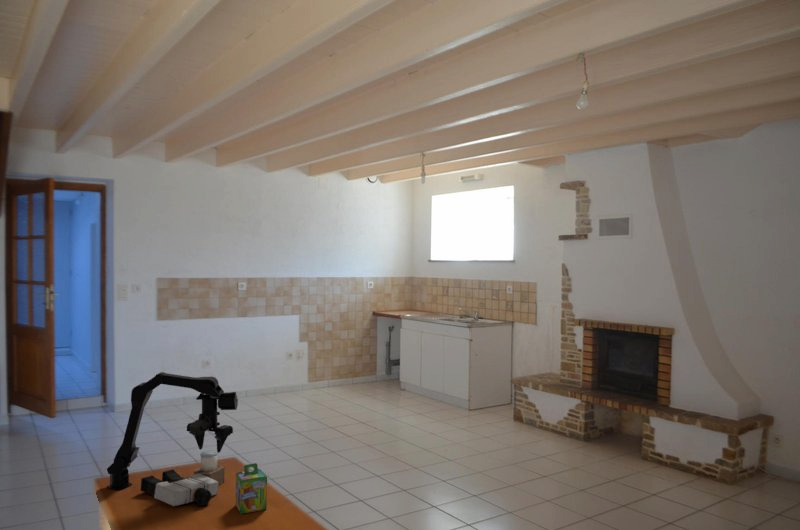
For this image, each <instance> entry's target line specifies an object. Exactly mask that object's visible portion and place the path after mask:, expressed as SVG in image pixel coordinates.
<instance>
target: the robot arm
mask: <svg viewBox="0 0 800 530" xmlns="http://www.w3.org/2000/svg"><path fill="white" fill-rule="evenodd" d="M160 385H167V386H174V387H177V388H179V387H180V388H185V389H186V388H187V389H191V390H194V391H196V392H197V393H199V394H198V396H197V397H195V400H198V401H201V413H199V415H198V418H197V419H196V420H195V421H193V422H189V423H187V426H186V432H188V433H189V434H190V435H192V436H193V437H194V439H195V441H196V444H197V447H198V449H199V450H202V449H203V448H204V441H205V436H206V435H205V433H206V432H212V433H213V432H214V438H215V439H216V451H217V452H218V454H219V453H221V451H222V449H223V447H224V445H225V442H226V441H227V439H228V437H229V436H231V434H234V427H233V426H231V425H227V424H223V425H220V422H219V421H218V416H219V415H221V413H220V411H236V410H237V408H238V404H239V399H238V396H237V391H231V392H229V391H228V392H225V391H224V389H222V387H221V386H220V384H219V380H218V379H217V377H216V376H215V377H214V376H198V377H196V376H195V377H193V376H187V375H182V374H181V375H180V374H174V373H173V374H172V373H167V372H163V371H160V372H159V373H156V375H154V376H153V377H152V378H150V379H149V380H148V381H146V382H141V383H139V384H138V385H136V386H135V387H133V388H132V389H131V395H130V404H131V410H130V413H129V417H128V420H127V421H128V422H127V424H126V428H125V432H124V437H123V440H122V443H121V445H120V447H119V448H118V449H117V452H116V453H115V456H114V458H113V463H111V464H110V465H109V466H108V467H107V468H106V471H107V473H108V475H109V485H106V488H107V489H111V490H115V491H119V490H122V489H125V488H126V487H130V486H132V485H133V483H131V482H130V474H129V469H128V468H130V466H131V463H133V462H134V461H135V460H136V459H137V458H138V452H139V450H140V446H139V447H138V446H137V445H136V441H137V437H138V433H139V431H140V430H139V429H140V425H141V422H142V417H143V414H144V410H145V407H146V405H147V404H148V402H149V400H150V398H151V396H152V394H153V392H154V389H156V388H158V387H159V386H160ZM218 409H220V411H218Z"/></svg>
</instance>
